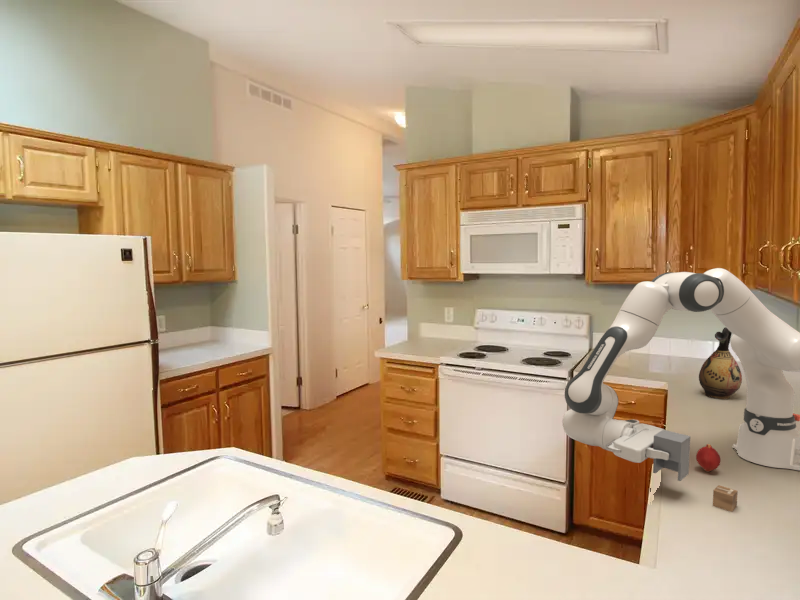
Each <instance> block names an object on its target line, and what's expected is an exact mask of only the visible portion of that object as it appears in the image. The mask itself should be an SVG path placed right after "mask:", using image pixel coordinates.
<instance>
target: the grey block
mask: <svg viewBox="0 0 800 600" xmlns="http://www.w3.org/2000/svg"><path fill="white" fill-rule="evenodd" d="M653 449H654V450H660V451H662V450H664V451H668V452H670V458H669V459H668V460H664V459H658V458H653V464H652V473H653V474H657V473H658V472H660V471H661V470H662V469H666V470H670V471H673V472H677V481H679V482H681V481H682V480H683V479H685V478H686V477H687V476H688V475H689V467H690V449H691V435H687V434H683V433H679V432H675V431H670V430H666V429H664V430H662V431H660V432H659V433H657V434H656V435H654V443H653Z"/></svg>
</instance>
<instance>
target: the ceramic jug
mask: <svg viewBox="0 0 800 600" xmlns="http://www.w3.org/2000/svg"><path fill="white" fill-rule="evenodd" d="M732 335H733V333H732V332H730V331H729V330H728V329H727V328H726V327H725V326H724V327H723V328H722V330H721V331H716V332H715V334H714V338H715V339H716V340H717V341H719V342H718V346H717V348H716V350H714V351H713V352H712V353H711V354H710V355H709V356H708V357H707V358H706V360H705V361H704V362H703V363H702V365H701V367H700V369H699V374H698V381H699V384H700V386H701V387H702V389H703V391H704V396H706V397H709V398H711V399H712V398H713V399H719V400H728V399H730V398H731V397H732V396H733V395H734V394H735V393H736V392H737V391H739V390H740V387H741V386H742V382H743V377H742V370H741V368H740V366H739V364H738V362H737V360H736V359H735V358H734V356H733V355H732V353H731V352H730V349H729V347H730V344H731V338H732Z"/></svg>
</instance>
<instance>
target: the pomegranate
mask: <svg viewBox="0 0 800 600" xmlns="http://www.w3.org/2000/svg"><path fill="white" fill-rule="evenodd" d="M695 457H696V458H695V459H696V462H697V464H698V465H699V466H700V467H701V468H702V469H703V470H704V471H705V472H707V473H708V472H712V471H714V470H716V469H718V468H719V466H720V465H721V456H720V454H719V452H718V451H717V450H716V449H715V448H714V447H712V445H711V444H709V443H708V444H706V445H705V446H703V447H700V448H699V449H698V451H697V452H696V456H695Z"/></svg>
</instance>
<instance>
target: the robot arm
mask: <svg viewBox="0 0 800 600" xmlns="http://www.w3.org/2000/svg"><path fill="white" fill-rule="evenodd" d="M671 309H672V310H676V311H681V312H683V311H685V312H687V311H688V312H692V313H701V312H706V311H707V312H708V311H711V312H712V314H713V315H715V317H716V318H717V319H718V321H720V322H721V324H723V326H724V328H725V327H726V328H727V329H728V330H729V331H730V332H732V334H731V338H730V347H731V349H732V351H733V352H734V353H735V355H736V356H737V358H738V359H739V362H740V364H741V367H742V370H743V373H744V378H745V380H746V381H745V382H746V405H745V406H746V407H745V408H744V411H743V422H741V423H740V424H739V428H738V433H737V434H738V435H737V441H736V443H733V444H732V448H733V447H734V448H735V449H736V450H737V451H736V450H735V449H734V450H735V451H736V454H737V453H738V454H737V456H739V457H740V458H742V459H743V460H746V461H747V462H752V463H754V464H757V465H761V466H766V467H770V468H776V469H777V468H778V469H790V470H794V471H800V430H799V429H798V428H797V422H800V413H799V414H797V413H794V402H795V390H794V387H793V385H792V384H791V383H790V382H789V381H788V380H787V378H786V376H785V374H784V372H783V371H786V372H792V373H793V372H794V373H800V331H798V330H797V329H795V328H794V327H792V326H791V325H789V324H788V323H787V322H786V321H784V320H783V319H781V318H780V317H778V316H777V315H776V314H774V313H773V312H772V311H770V310H769V309H768V308H767V307H766V305H764V304H763V303H762V302H761V301H760V299H759V298H758V297H757V296H756V295H755V294H754V293H753V292H752V291H751V290H750V288H749V287H748V286H747V285H746V284H745V283H744V282H743V281H742V280H741V279H739V278H738V276H736V275H734V274H733V273H732V272H731V271H729V270H728V269H725V268H721V267H716V268H712V269H708V270H706V271H705V272H703V273H699V272H698V273H695V272H689V271H679V272H672V271H671V272H670V271H669V272H668V271H667V272H664V273H661V274H658V275H657V276H655V277H654V278H653V279H652V280H651V281H647V280H646V281H641V282H638V283H637V284H636V285H635V286H634V287H633V289H632V290H631V291H630V292H629V293H628V296H626V298H625V300H624V301H623V303H622V305H621V307H620V309H619V310H618V312H617V314H616V316H615V319H614V320H613V322H612V323H611V325H610V326H609V328H608V329H607V330H606V331H605V332H604V334H602V336H601V338H600V339H599V340H598V342H597V344H596V345H595V347H594V348H593V350H592V352H591V353H590V355H589V357H588V358H587V360H586V362H585V363H584V365H583V366H582V368H581V369H580V370H579V371H578V373H577V374H575V375H574V376H573V377H572V378H571V379H570V380H569V381H568V382H567V383H566V386H565V387H564V400H565V402H566V404H567V406H568V407H569V409H568V410H566V411H565V412H564V413H563V416H562V428H563V431H564V433H565V435H567V436H568V437H569V438H571V439H573V440H574V441H577V442H579V443H582V444H585V445H587V446H592V447H593V446H594V447H600V448H601V449H602V450H605V451H608V452H612V453H613V454H614V456H616V457H619V458H621V459H624V460H626V461H629V462H632V463H639V464H641V463H642V462H644V461H645V460H648V458H650V459H654V458H658V459H664V460H668V459H669V458H670V452H668V451H664V450H662V451H660V450H654V449H653V443H654V435H656V434H657V433H659V432H660V431H662V430H665V429H664V428H661V427H657V426H655V425H652V424H648V423H640V421H639V420H638V419H626V420H624V419H623V420H622V419H616V418H614V417H615V414H616V412H617V409H618V406H619V396H618V394H617V391H615V389H614V388H613V387H611V386H609V385H608V384H605V383H604V381H605V380H606V378H607V375H608V374H609V372H610V371H611V369H612V368H613V366H614V365H615V363H616V361H617V359H618V358H619V357H620V356H622V355H623V354H624V353H627V352H629V351H633V350H639V349H641V348H644V347H646V346H647V345H648V344H649V343H650V342H651V340H652V339H653V338H654V336H655V334H656V333H657V331H658V328H659V327H660V324H661V322H662V320H663V318H664V316H665V314H667V312H668V311H669V310H671Z"/></svg>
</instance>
